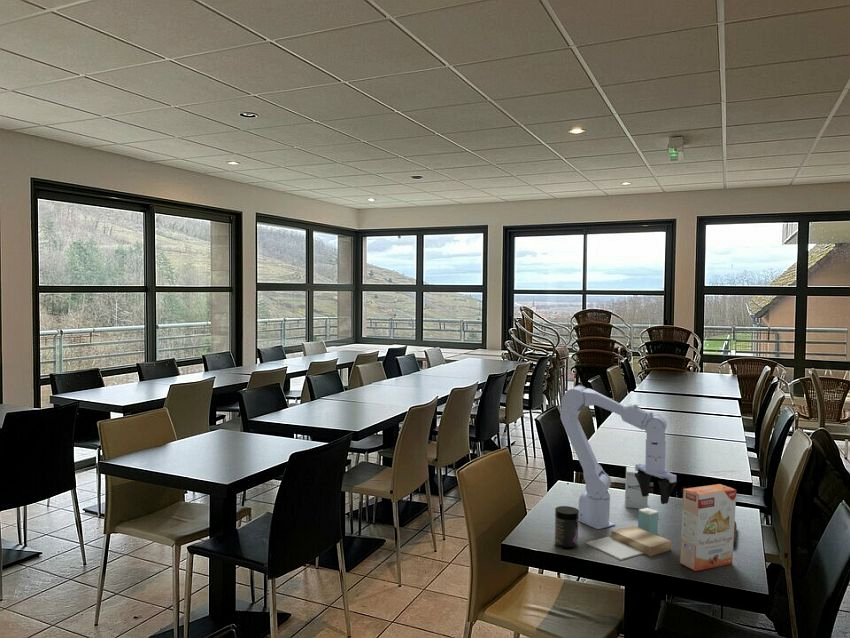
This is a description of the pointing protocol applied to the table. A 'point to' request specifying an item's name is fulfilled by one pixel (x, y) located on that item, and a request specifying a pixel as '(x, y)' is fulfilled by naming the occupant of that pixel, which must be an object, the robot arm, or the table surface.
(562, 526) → the supplement container
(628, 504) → the supplement box
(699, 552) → the cracker box
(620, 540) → the oak slab
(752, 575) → the table surface
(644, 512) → the teal block
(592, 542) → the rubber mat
